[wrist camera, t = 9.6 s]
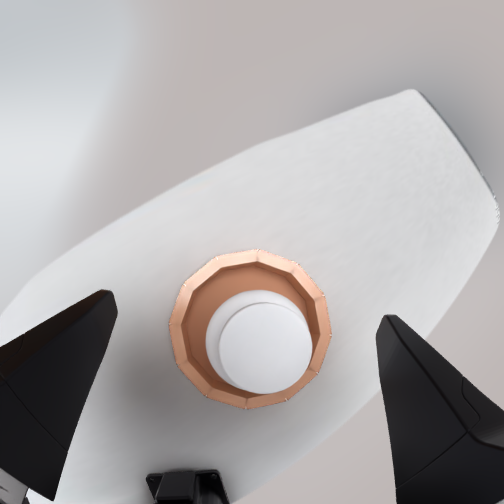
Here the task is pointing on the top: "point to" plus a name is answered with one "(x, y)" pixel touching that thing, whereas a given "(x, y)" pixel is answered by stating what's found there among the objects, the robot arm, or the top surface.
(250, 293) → the supplement bottle
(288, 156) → the top surface
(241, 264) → the terracotta bowl
